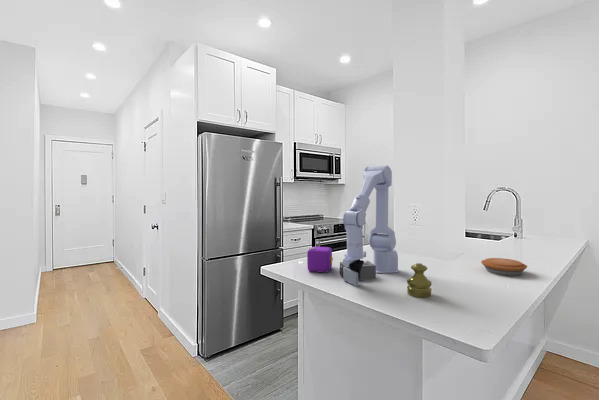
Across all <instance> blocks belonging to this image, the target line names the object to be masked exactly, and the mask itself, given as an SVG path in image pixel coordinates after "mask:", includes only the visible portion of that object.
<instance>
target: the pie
mask: <svg viewBox="0 0 599 400" xmlns="http://www.w3.org/2000/svg"><path fill="white" fill-rule="evenodd" d="M480 264H482V265H483V266H484V268H485V270H486V271H487V272H489V273H491V274H493V275H498V276H503V277H504V276H507V277H519V276H521V275H522V273H523V272H524V271H525V270H526V269H527V268H528V265H527V264H524V263H523V262H521V261H519V260H515V259H511V258H510V259H509V258H503V257H491V258H486V259H483V260H481V262H480Z"/></svg>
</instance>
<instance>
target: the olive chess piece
mask: <svg viewBox="0 0 599 400" xmlns="http://www.w3.org/2000/svg"><path fill="white" fill-rule="evenodd" d="M410 269H411V270H413V272H414V274H412V275H411V276H410V277H409V278H407V280H406V283H407V287H406V289H407V290H406V291H407V294H408V295H409V296H411V297H414V298H422V299H425V298H431V296H432V285H433V284H432V281H431V280H430V279H429V278H427V276H426V275H425V272H426V271H428V267H427V266H426V265H423V264H422V263H418V262H417V263H416V264H412V265H411V266H410Z"/></svg>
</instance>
